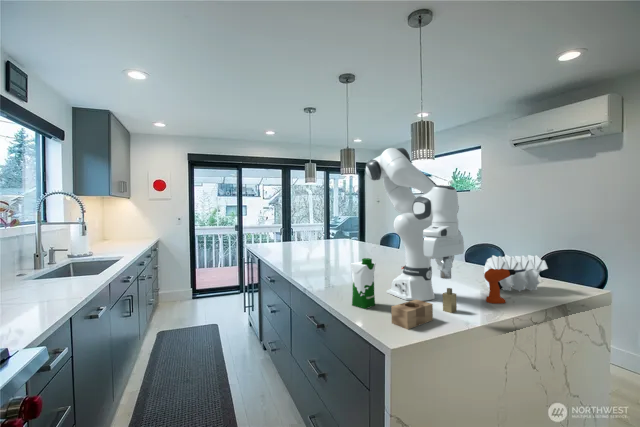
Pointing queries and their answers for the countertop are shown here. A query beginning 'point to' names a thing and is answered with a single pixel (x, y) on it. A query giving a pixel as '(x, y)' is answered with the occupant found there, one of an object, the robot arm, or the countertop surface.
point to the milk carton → (363, 283)
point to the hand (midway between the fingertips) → (445, 268)
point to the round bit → (446, 268)
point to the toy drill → (497, 283)
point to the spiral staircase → (521, 278)
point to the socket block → (412, 313)
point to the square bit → (449, 301)
